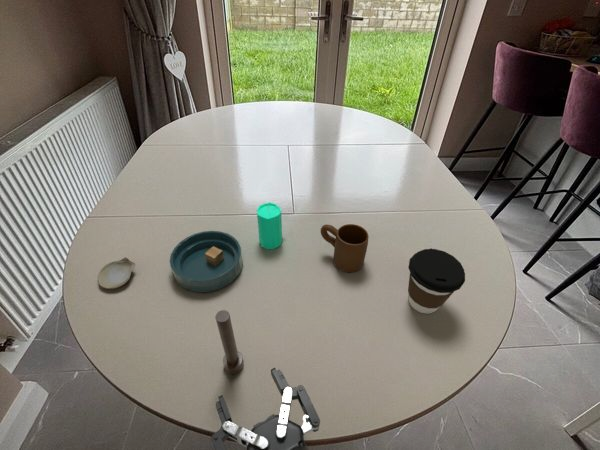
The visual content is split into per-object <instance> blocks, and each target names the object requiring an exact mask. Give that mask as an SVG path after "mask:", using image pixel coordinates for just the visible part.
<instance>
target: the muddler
mask: <svg viewBox="0 0 600 450" xmlns="http://www.w3.org/2000/svg"><path fill="white" fill-rule="evenodd" d="M215 321H216V325H217V330H218V333H219V338H220V340H221V343H222V348H223V352H224V356H223V359H222V363H223V367H224V370H225V372H227V374H230V375H235V374H238V373H240V372H242V370H243V368H244V365H245V363H244V357H243V354H242V353H241V352H240V351H238V348H237V342H236V338H235V332H234V329H233V324H232V319H231V314H230V312H229V311H228V310H225V309H221V310H219V311H217V313H216V314H215Z"/></svg>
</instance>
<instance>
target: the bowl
mask: <svg viewBox="0 0 600 450" xmlns="http://www.w3.org/2000/svg"><path fill="white" fill-rule="evenodd" d="M213 246H214V247H216V248H218V249H220V250H222V251H223V256H224V260H223V261H222V262H221V263H219V264H218V265H217V266H214V265H212V264H210V263H208V262H207V261H206V257H205V253H206V252H207V251H208V250H209V249H211V248H212V247H213ZM243 263H244V261H243V254H242V247H241V244H240V243H239V241H238V240H237V238H235V237H234V236H233V235H231V234H229V233H227V232H224V231H219V230H205V231H200V232H197V233H193V234H191V235H189V236H186V237H185V238H184V239H182V240H181V241H179V242H178V244H176V246H175V247H174V248H173V250H172V252H171V253H170V256H169V266H170V269H171V272H172V275H173V277H174V280H175V281H176V282H177V284H178V285H179V286H181V287H182V288H183V289H185V290H188V291H191V292H194V293H207V292H214V291H218V290H220V289H223V288H224V287H226V286H228V285H229V284H231V283H232V282H233V281H234V280H235V279H236V278H237V277H238V275H239V274H240V273H241V271H242V267H243Z"/></svg>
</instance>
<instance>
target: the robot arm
mask: <svg viewBox="0 0 600 450" xmlns="http://www.w3.org/2000/svg"><path fill="white" fill-rule="evenodd" d="M270 375H271V378H272V380H273V381H274V382H273V383H274V384H275V387H276V388H277V390H278V393H279V394H280V396H281V397H282V402H281V405H280V411H279V414H274V413H273V414H270V415H269V416H267V418H266V419H265V420H263V421H260V422H257V423H255V424H254V425H253V427H252V429H251V430H249V429H247V428H245V427H243V426H240V425H237V424H236V423H234V422H233V419H232V416H231V414H230V411H229V408H228V406H227V403H226V400H225V397H224V395H223V394H221V395H219V396H217V398H218V401H216V402H215V408H216V412H217V414H218V416H219V420H220V423H221V426H220V428H219V429H218V430H217V431H215V432H214V433H212V435H211V442H212V445H213V448H214V450H227V448H226V446H225V442H226V440H228V438H230V439H231V440H234V441H235V442H237V443H238V444H239V445H241V446H243V447H244V448H246V450H309V448H308V446H307V444H306V442H305V437H304V436H306V435H308V434H310V433H311V432H314V433H316V432H318V431H319V430H320V425H321V419H320V417H319V414H318V413H317V411H316V409H315V406H314V404H313V402H312V400H311V398H310V396H309V393H308V392H307V390H306V388H305V386H304V385H302V384H299V385H298V386H295V387H292V386H290V385H289V383H288V381H287V379H286V377H285V375H284V373H283V371H282V370H280V369H276V367H273V368H271V369H270ZM295 400H297V401H298V403H299V405H300V407H301V410H302V412H303V414H304V415H303V416H302V425H300V424H298V423H296V422H294V421H292V420H290V417H291V408H292V402H293V401H295Z"/></svg>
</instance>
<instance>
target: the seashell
mask: <svg viewBox="0 0 600 450" xmlns="http://www.w3.org/2000/svg"><path fill="white" fill-rule="evenodd" d="M135 267H136V263H135V262H133V261H132V260H130V259H129V258H128V257H127V256H126V257H123V258H121V259H120V260H114V261H111V262H108V263H106V264H105V265H104V266H103V267H102V268H101V269H100V270H99V272H98V275H97V283H98V285H99V287H101V288H103V289H106V290H113V289H114V290H115V289H119V288H120V287H122V286H123V285H125V284H126V283H127V282H128V281H129V280H130V278H131V275H132V272H133V271H134V269H135Z"/></svg>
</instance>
